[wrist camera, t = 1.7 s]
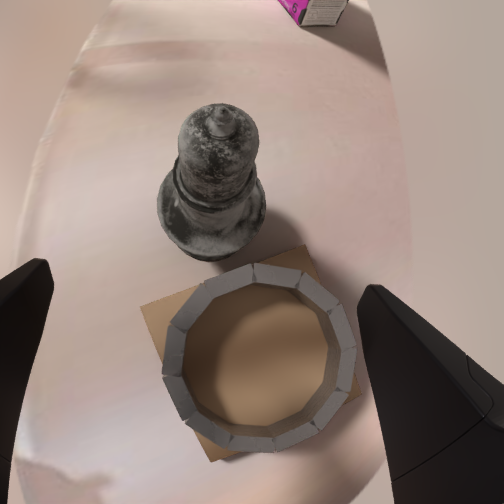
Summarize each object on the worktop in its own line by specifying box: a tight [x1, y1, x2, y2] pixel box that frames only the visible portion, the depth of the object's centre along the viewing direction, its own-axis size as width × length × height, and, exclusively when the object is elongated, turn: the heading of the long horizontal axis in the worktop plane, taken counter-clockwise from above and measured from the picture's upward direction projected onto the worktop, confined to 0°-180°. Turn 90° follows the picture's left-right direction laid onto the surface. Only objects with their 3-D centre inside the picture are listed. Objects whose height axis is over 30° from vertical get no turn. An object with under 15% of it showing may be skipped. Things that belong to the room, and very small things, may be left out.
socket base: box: [140, 244, 362, 462], centre depth 18 cm, size 11×11×3 cm
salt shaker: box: [157, 103, 266, 261], centre depth 14 cm, size 6×6×12 cm
